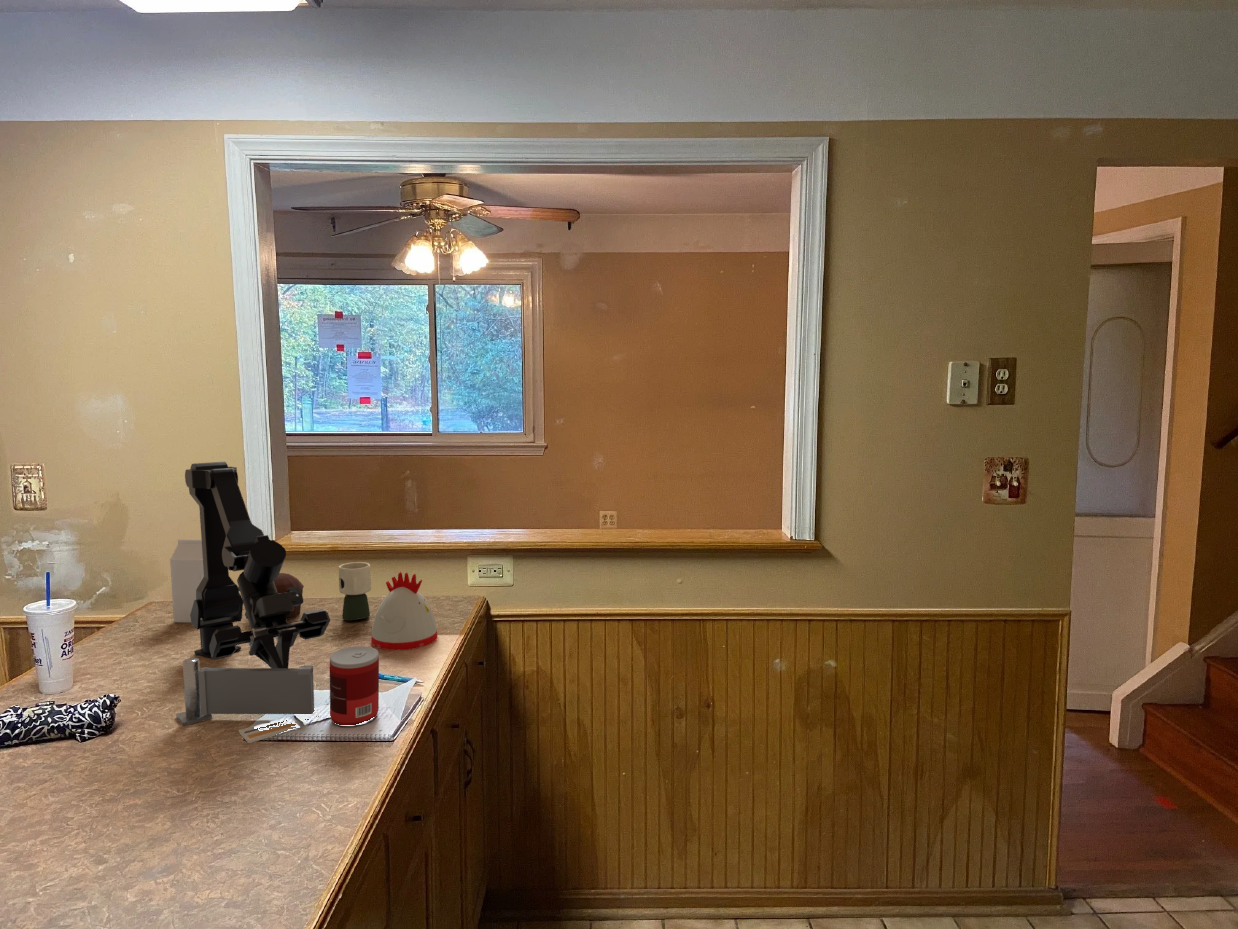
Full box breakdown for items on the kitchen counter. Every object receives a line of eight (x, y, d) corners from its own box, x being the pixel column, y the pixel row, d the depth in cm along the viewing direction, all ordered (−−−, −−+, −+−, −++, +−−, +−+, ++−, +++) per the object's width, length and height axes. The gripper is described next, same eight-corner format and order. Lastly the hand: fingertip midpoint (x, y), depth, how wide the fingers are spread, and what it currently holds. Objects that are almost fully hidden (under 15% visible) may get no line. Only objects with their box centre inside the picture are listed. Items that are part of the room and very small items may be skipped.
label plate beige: (289, 718, 131) (289, 715, 131) (300, 728, 127) (300, 725, 127) (238, 732, 126) (238, 729, 126) (248, 743, 122) (248, 740, 122)
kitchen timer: (419, 652, 163) (417, 582, 161) (359, 647, 166) (357, 578, 164) (447, 631, 176) (446, 566, 175) (391, 627, 179) (389, 563, 178)
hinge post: (182, 726, 128) (179, 667, 127) (176, 717, 131) (172, 660, 130) (212, 718, 131) (209, 661, 130) (204, 710, 134) (201, 654, 133)
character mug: (341, 613, 189) (339, 561, 188) (372, 611, 191) (370, 559, 190) (338, 627, 179) (336, 572, 177) (371, 624, 181) (369, 570, 179)
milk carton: (203, 623, 181) (199, 543, 179) (173, 623, 181) (168, 542, 179) (219, 614, 188) (216, 536, 186) (190, 613, 188) (186, 536, 186)
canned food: (385, 707, 135) (386, 647, 133) (366, 730, 127) (366, 666, 125) (343, 703, 136) (343, 643, 134) (321, 725, 128) (320, 662, 126)
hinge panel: (200, 714, 130) (198, 669, 129) (206, 710, 132) (203, 665, 131) (311, 715, 130) (309, 669, 129) (315, 710, 132) (313, 665, 131)
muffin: (258, 610, 191) (256, 570, 190) (306, 606, 194) (305, 567, 193) (250, 625, 180) (248, 582, 179) (302, 621, 183) (300, 579, 182)
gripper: (210, 582, 127) (234, 667, 120) (324, 565, 139) (351, 640, 133) (200, 617, 134) (221, 699, 127) (309, 598, 146) (334, 671, 139)
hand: (284, 676), depth 131 cm, fingers closed
